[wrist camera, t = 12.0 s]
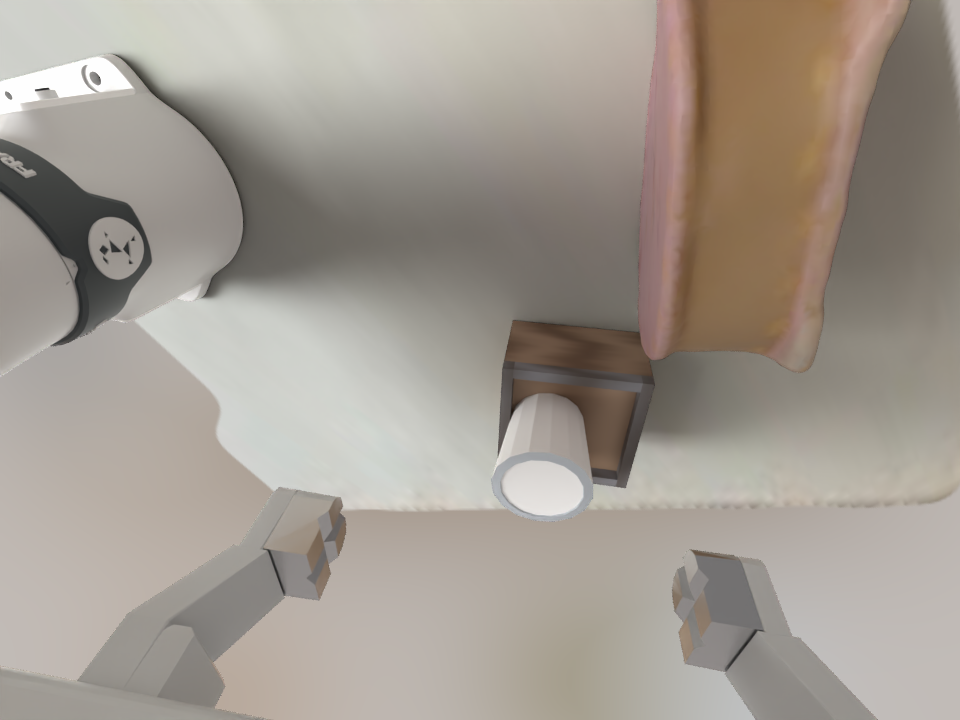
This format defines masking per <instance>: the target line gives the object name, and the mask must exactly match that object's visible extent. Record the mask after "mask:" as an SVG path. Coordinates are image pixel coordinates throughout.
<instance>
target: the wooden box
mask: <svg viewBox="0 0 960 720" xmlns="http://www.w3.org/2000/svg"><path fill="white" fill-rule="evenodd" d="M654 386H655V383H654V379H653V374H652V370H651V365H650V361H649V357H648V356H647V355H646V353H645V351H644V349H643V347H642V344H641V336H640V333H637V332H627V331H616V330H606V329H596V328H585V327H575V326H565V325H554V324H544V323H534V322H523V321H513V323H512V327H511V332H510V336H509V341H508V345H507V350H506V355H505V359H504V364H503V368H502V387H501V405H500V424H499V442H498V456H499V453H500V450H501V447H502V444H503V441H504V438H505V435H506V431H507V428H508V425H509V422H510V419H511V416H512V413H513V411H514V409H515V406H516V405H517V404H518V403H519V402H520V401H522V400H523V399H524V398H525V397H528V396H531V395H534V394H538V393H553V394H556V395H559V396H562V397H565V398H567V399H569V400H570V401H571V402H573V403H574V404H575V405H576V406H577V407H578V408H579V410H580V412H581V414H582V416H583V420H584V427H585V434H586V440H587V447H588V454H589V460H590V467H591V474H592V480H593V484H599V485H607V486H614V487H621V488H626V485H627V482H628V478H629V475H630V471H631V468H632V464H633V460H634V457H635V453H636V450H637V446H638V443H639V439H640V436H641V432H642V429H643V425H644V422H645V418H646V415H647V411H648V408H649V404H650V400H651V397H652V393H653V390H654Z"/></svg>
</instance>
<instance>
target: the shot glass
mask: <svg viewBox="0 0 960 720" xmlns="http://www.w3.org/2000/svg"><path fill="white" fill-rule="evenodd" d="M491 482H492V489H493V493H494V495H495V496H496V497H497V499H498V500H499V502H500V503H501V504H502V505H503V506H504V507H506V508H507V509H509V510H510V511H512V512H513V513H515V514H516V515H519V516H522V517H525V518H528V519H532V520H535V521H549V522H555V521H559V520H564V519H569V518H572V517H574V516H575V515H577V514H579V513H581V512H582V511H584V510H585V509H586V508H587V506H588V505H589V503H590V502H591V500H592V499H593V480H592V474H591V467H590V460H589V454H588V447H587V440H586V434H585V427H584V420H583V416H582V414H581V412H580V410H579V408H578V407H577V406H576V405H575V404H574V403H573V402H571V401H570V400H569V399H567V398H565V397H562V396H559V395H556V394H553V393H538V394H534V395H531V396H528V397H525V398H524V399H523V400H522V401H520V402H519V403H518V404H517V405H516V406H515V409H514V411H513V413H512V416H511V419H510V422H509V425H508V428H507V431H506V435H505V438H504V441H503V444H502V447H501V450H500V453H499V456H498V459H497V463H496V466H495V469H494V472H493V475H492V478H491Z"/></svg>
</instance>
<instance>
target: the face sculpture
mask: <svg viewBox="0 0 960 720" xmlns="http://www.w3.org/2000/svg"><path fill="white" fill-rule="evenodd" d="M910 3H911V0H657V34H656V48H655V56H654V62H653V69H652V76H651V84H650V95H649V104H648V114H647V125H646V141H645V157H644V171H643V184H642V194H641V202H640V231H639V263H638V269H639V296H638V323H639V330H640V336H641V344H642V347H643V349H644V351H645V353H646V355H647V356H648V357H649V358H650V359H651V360H661V359H664V358H666V357H667V356H669V355H670V354H672V353H674V352H683V351H685V352H701V351H742V352H751V353H757V354H761V355H764V356H766V357H768V358H770V359H773V360H775V361H776V362H777V363H778V364H779V365H781V366H783V367H785V368H787V369H789V370H791V371H793V372H798V373H801V372H805V371H806V370H808V369H809V368H810V367H811V365H812V363H813V361H814V357H815V355H816V352H817V348H818V343H819V340H820V336H821V331H822V326H823V319H824V307H823V301H824V294H825V287H826V284H827V281H828V278H829V275H830V270H831V265H832V260H833V256H834V252H835V248H836V245H837V242H838V238H839V235H840V230H841V227H842V224H843V221H844V218H845V215H846V210H847V204H848V195H849V187H850V181H851V176H852V171H853V168H854V164H855V160H856V156H857V153H858V149H859V145H860V142H861V138H862V133H863V129H864V124H865V120H866V116H867V113H868V109H869V106H870V103H871V100H872V97H873V95H874V91H875V88H876V84H877V80H878V76H879V72H880V69H881V67H882V64H883V62H884V59H885V57H886V54H887V52H888V50H889V48H890V47H891V45H892V43H893V41H894V39H895V38H896V36H897V34H898V33H899V31H900V29H901V27H902V25H903V23H904V20H905V18H906V15H907V12H908V10H909V6H910Z"/></svg>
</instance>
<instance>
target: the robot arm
mask: <svg viewBox="0 0 960 720" xmlns="http://www.w3.org/2000/svg"><path fill="white" fill-rule="evenodd" d="M98 75H99V76H100V78H101V81H100V80H99V78H98ZM242 233H243V215H242V208H241V203H240V199H239V195H238V192H237V189H236V187H235V184H234V182H233V179H232V177H231V175H230V173H229V171H228V169H227V167H226V166H225V164H224V162H223V161H222V159H221V157H220V156H219V155H218V153H217V152H216V150H215V149H214V148H213V146H212V145H211V144H210V143H209V141H208V140H207V139H206V138H205V137H204V136H203V135H202V134H201V132H200V131H199V130H198V129H197V128H196V127H194V126H193V125H192V124H191V123H190V122H189V121H188V120H187V119H185V118H184V117H183V116H182V115H180V114H179V113H178V112H176V111H175V110H173V109H172V108H170V107H169V106H167V105H166V104H165V103H163V102H162V101H160V100H159V99H158V98H157V97H155V96H154V95H153V94H152V93H151V92H150V91H149V90H148V88H147V87H146V86H145V85H144V83H143V82H142V81H141V80H140V78H139V77H138V76H137V75H136V74H135V73H134V71H133V70H132V69H131V68H130V67H129V66H128V65H127V64H126V63H125V62H124V61H123V60H122V59H120V58H119V57H117V56H115V55H113V54H104V55H99V56H95V57H91V58H87V59H83V60H79V61H75V62H71V63H67V64H64V65H60V66H56V67H52V68H48V69H44V70H40V71H36V72H32V73H28V74H24V75H21V76H17V77H13V78H9V79H5V80H1V81H0V377H1V376H3V375H4V374H6V373H7V372H9V371H10V370H12V369H14V368H15V367H17V366H18V365H20V364H21V363H23V362H24V361H26V360H27V359H29V358H31V357H32V356H34V355H36V354H37V353H39V352H40V351H42V350H44V349H45V348H47V347H49V346H57V345H63V344H66V343H69V342H71V341H73V340H75V339H77V338H78V337H82V336H85V335H87V334H89V333H91V332H93V331H94V330H96V329H98V328H99V327H101V326H102V325H103V324H104V323H106V322H107V321H108V320H117V321H120V322H122V323H126V322H130V321H133V320H135V319H137V318H139V317H141V316H143V315H145V314H147V313H149V312H151V311H153V310H155V309H157V308H159V307H161V306H163V305H164V304H166V303H168V302H170V301H172V300H174V299H176V298H177V299H181V300H185V301H189V302H192V301H195V300H197V299H199V298H201V297H203V296H204V295H205V293H206V292H207V289H208V287H209V284H210V281H211V278H212V277H213V275H214V274H215V273H217V272H218V271H219V270H221V269H222V268H223V267H225V266H226V265H227V264H228V263H229V262H230V261H231V260H232V259H233V257H234V256H235V254H236V253H237V251H238V248H239V246H240V243H241V239H242ZM342 507H343V504H342V500H341V497H336V496H330V495H324V494H318V493H312V492H306V491H301V490H295V489H288V488H282V487H279V488H278V489H277V490H276V491H274V492H273V493H272V495H271V497H270V498H269V500H268V501H267V503H266V505H265V506H264V508H263V509H262V511H261V512H260V514H259V516H258V517H257V519H256V520H255V522H254V523H253V525H252V526H251V528H250V530H249V531H248V533H247V534H246V536H245V537H244V539H243V541H242V542H241V544H240V545H232V546H231V547H229V548H228V549H226V550H225V551H223V552H222V553H220V554H218V555H217V556H215V557H214V558H212V559H211V560H209V561H208V562H206V563H205V564H203V565H202V566H200V567H198V568H197V569H195V570H194V571H192V572H191V573H189V574H188V575H187V576H185V577H183V578H182V579H180V580H179V581H177V582H175V583H174V584H172V585H171V586H169V587H168V588H166V589H165V590H163V591H162V592H160V593H159V594H157V595H155V596H154V597H152V598H151V599H149V600H148V601H146V602H145V603H143V604H142V605H140V606H139V607H137V608H136V609H134V610H132V611H131V612H129V613H128V614H127V615H126V616H125V618H124V619H123V621H122V622H121V623H120V624H119V626H118V627H117V628H116V630H115V631H114V632H113V634H112V635H111V636H110V638H109V639H108V640H107V642H106V643H105V644H104V646H103V647H102V648H101V650H100V651H99V653H98V654H97V655H96V656H95V658H94V659H93V660H92V662H91V663H90V664H89V666H88V667H87V668H86V670H85V671H84V672H83V674H82V675H81V676H80V678H79V679H78V680H77V681H75V680H69V679H65V678H59V677H54V676H50V675H45V674H40V673H34V672H29V671H24V670H19V669H14V668H9V667H4V666H0V720H271V719H266V718H261V717H255V716H250V715H246V714H240V713H236V712H231V711H225V710H220V709H215V706H216V704H217V702H218V700H219V698H220V696H221V694H222V692H223V690H224V688H225V683H224V679H223V678H222V676H221V674H220V673H219V671H218V670H217V668H216V666H215V665H214V663H213V662H214V661H215V660H216V659H218V657H220V656H221V655H222V654H223V653H224V652H225V651H226V650H228V649H229V648H230V647H231V646H232V645H233V644H234V643H235V642H236V641H237V640H239V639H240V638H241V637H242V636H243V635H244V634H245V633H246V632H247V631H248V630H250V629H251V628H252V627H253V626H254V625H255V624H256V623H257V622H258V621H260V620H261V619H262V618H263V617H264V616H265V615H266V614H267V613H268V612H269V611H270V610H272V609H273V608H274V607H275V606H276V605H277V604H278V603H279V602H281V600H283V599H284V596H291V597H298V598H305V599H312V600H320V598H321V596H322V593H323V591H324V589H325V586H326V584H327V582H328V579H329V577H330V575H331V572H330V568H329V563H330V562H332V561H333V560H335V559H336V558H337V557H338V556H339V554H340V551H341V549H342V547H343V543H344V539H345V535H346V520H345V517H344V516H343V515H342V514H340V511H341V509H342ZM683 561H684V566H683V567H681V568H679V569H677V571H676V574H675V576H674V578H673V587H672V597H673V604H674V611H675V613H676V614H677V615H678V616H679V618H680V619H681V620H682V621H683V625H682V627H681V629H680V631H679V637H680V642H681V647H682V652H683V657H684V662H685V664H688V665H693V666H698V667H703V668H709V669H713V670H718V671H723V672H726V673H725V675H726V677H727V678H728V679H729V681H730V682H731V684H732V685H733V687H734V688H735V690H736V691H737V693H738V694H739V696H740V697H741V698H742V700H743V702H744V703H745V704H746V706H747V708H748V709H749V710H750V712H751V713H752V715H753V716H754V718H755V719H756V720H878V719H877V718H876V717H875V716H874V715H873V714H872V713H871V712H870V711H869V710H868V709H867V708H866V707H865V706H864V705H863V704H862V703H861V702H860V701H859V699H858V698H857V697H856V696H855V695H854V694H853V693H852V692H851V691H850V690H849V689H848V688H847V687H846V686H845V685H844V684H843V683H842V682H841V681H840V680H839V679H838V677H837V676H836V675H835V674H834V673H833V672H832V671H831V670H830V669H829V668H828V667H827V666H826V665H825V664H824V663H823V662H822V661H821V660H820V659H819V658H818V657H817V655H816V654H815V653H814V652H813V651H812V650H811V649H810V648H809V647H808V646H807V645H806V644H805V643H804V642H803V641H802V640H801V639H800V638H797V637H793V636H792V634H791V632H790V629H789V627H788V624H787V621H786V619H785V616H784V613H783V611H782V608H781V606H780V603H779V601H778V598H777V595H776V592H775V590H774V587H773V585H772V582H771V580H770V577H769V574H768V572H767V569H766V566H765V565H764V563H763V562H761V560H758V559H752V558H744V557H736V556H734V555H727V554H720V553H713V552H706V551H698V550H688V551H686V553H685V555H684V557H683Z"/></svg>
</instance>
